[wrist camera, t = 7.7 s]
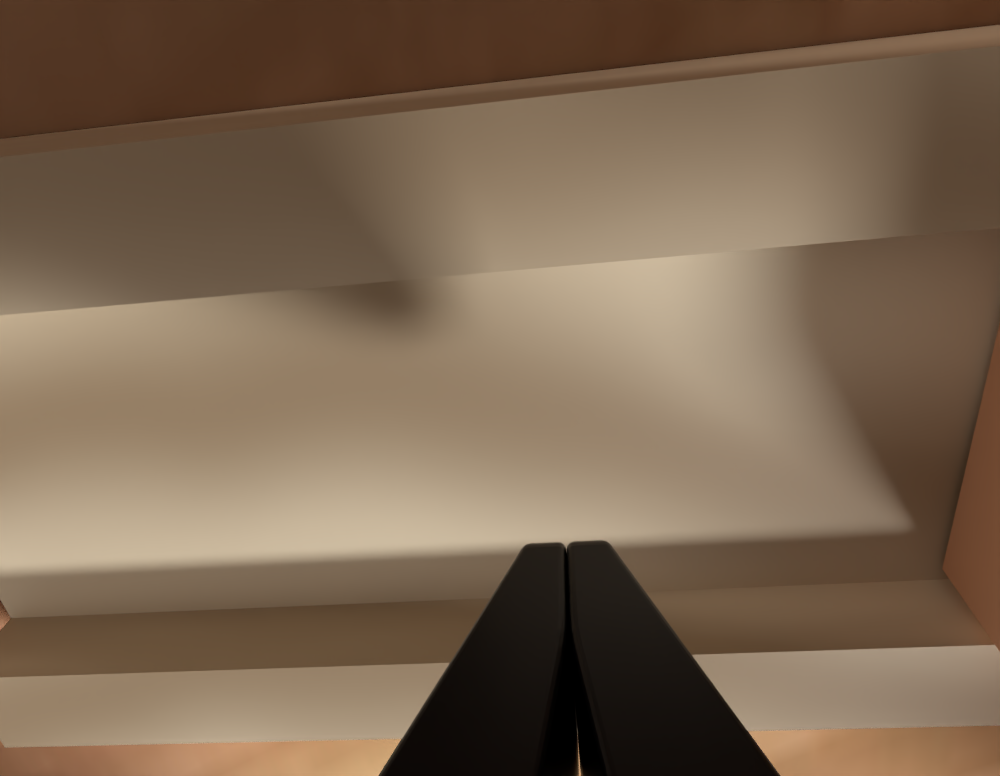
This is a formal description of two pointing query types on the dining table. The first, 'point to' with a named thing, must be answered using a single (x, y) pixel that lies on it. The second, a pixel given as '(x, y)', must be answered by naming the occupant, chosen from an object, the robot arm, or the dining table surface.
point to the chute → (500, 389)
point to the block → (980, 514)
